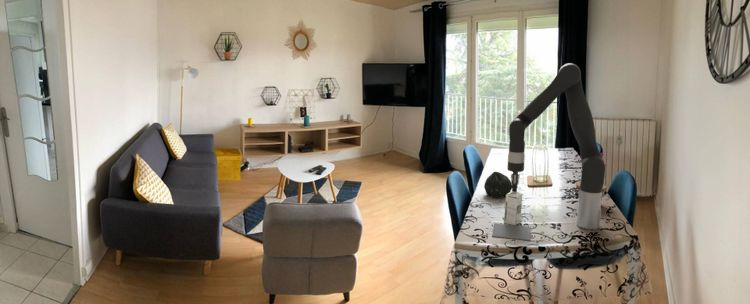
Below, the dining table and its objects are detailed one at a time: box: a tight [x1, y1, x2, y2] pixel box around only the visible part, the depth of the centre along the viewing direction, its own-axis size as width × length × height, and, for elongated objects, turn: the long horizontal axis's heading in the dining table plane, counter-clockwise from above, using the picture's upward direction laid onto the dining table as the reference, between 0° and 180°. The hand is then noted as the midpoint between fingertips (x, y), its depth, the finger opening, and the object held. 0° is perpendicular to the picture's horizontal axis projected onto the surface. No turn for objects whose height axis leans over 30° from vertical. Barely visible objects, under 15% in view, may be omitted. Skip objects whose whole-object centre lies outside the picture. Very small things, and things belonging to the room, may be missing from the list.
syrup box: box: [503, 190, 523, 226], centre depth 219 cm, size 6×6×14 cm
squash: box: [483, 171, 512, 199], centre depth 257 cm, size 14×15×15 cm
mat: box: [491, 223, 531, 242], centre depth 210 cm, size 16×15×1 cm
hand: (514, 195), depth 225 cm, fingers closed
